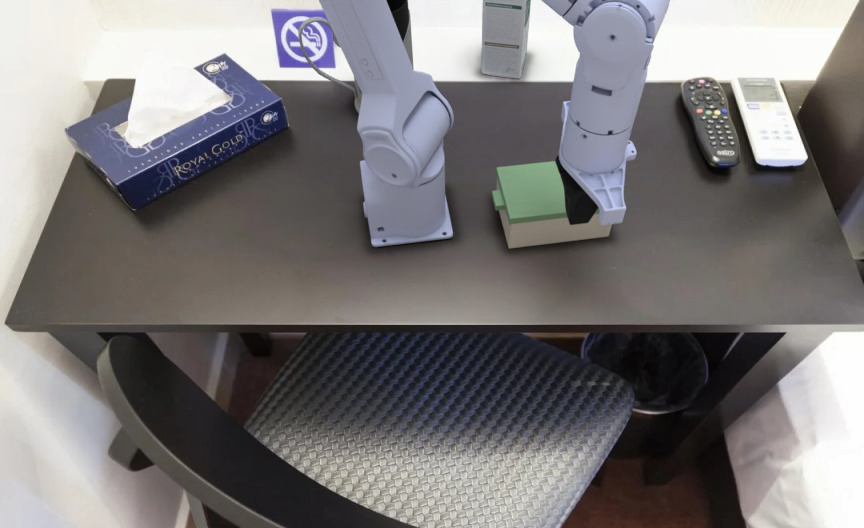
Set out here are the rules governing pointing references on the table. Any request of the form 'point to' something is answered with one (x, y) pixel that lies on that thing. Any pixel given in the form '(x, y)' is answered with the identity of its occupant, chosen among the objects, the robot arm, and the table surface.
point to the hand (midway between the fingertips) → (577, 219)
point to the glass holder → (402, 20)
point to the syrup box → (504, 37)
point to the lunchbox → (538, 207)
